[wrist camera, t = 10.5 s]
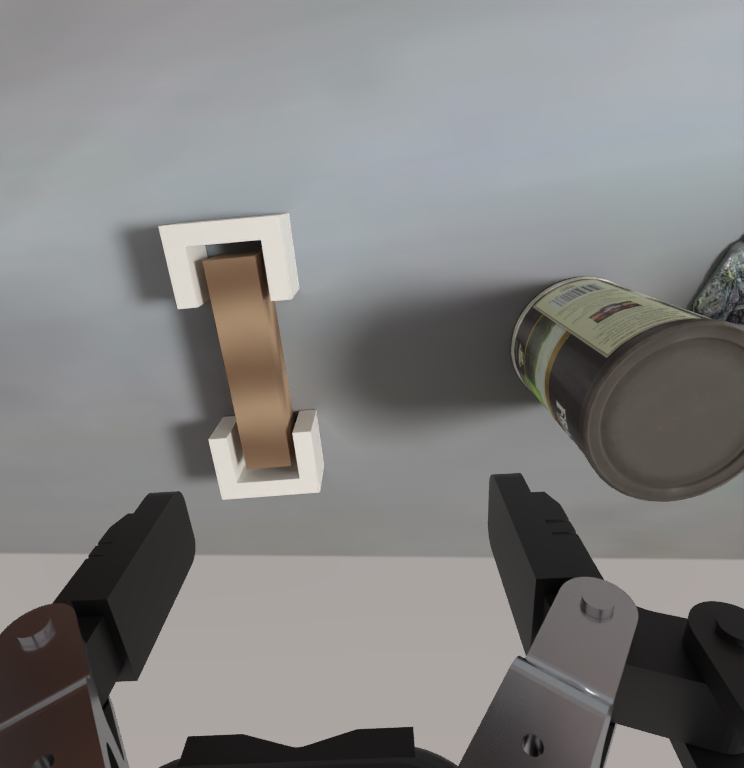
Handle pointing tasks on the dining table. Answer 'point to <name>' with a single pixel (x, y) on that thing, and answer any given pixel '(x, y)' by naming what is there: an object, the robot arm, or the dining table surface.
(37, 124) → the dining table surface
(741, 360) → the coffee can
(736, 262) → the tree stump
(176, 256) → the end caps
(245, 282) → the slat
